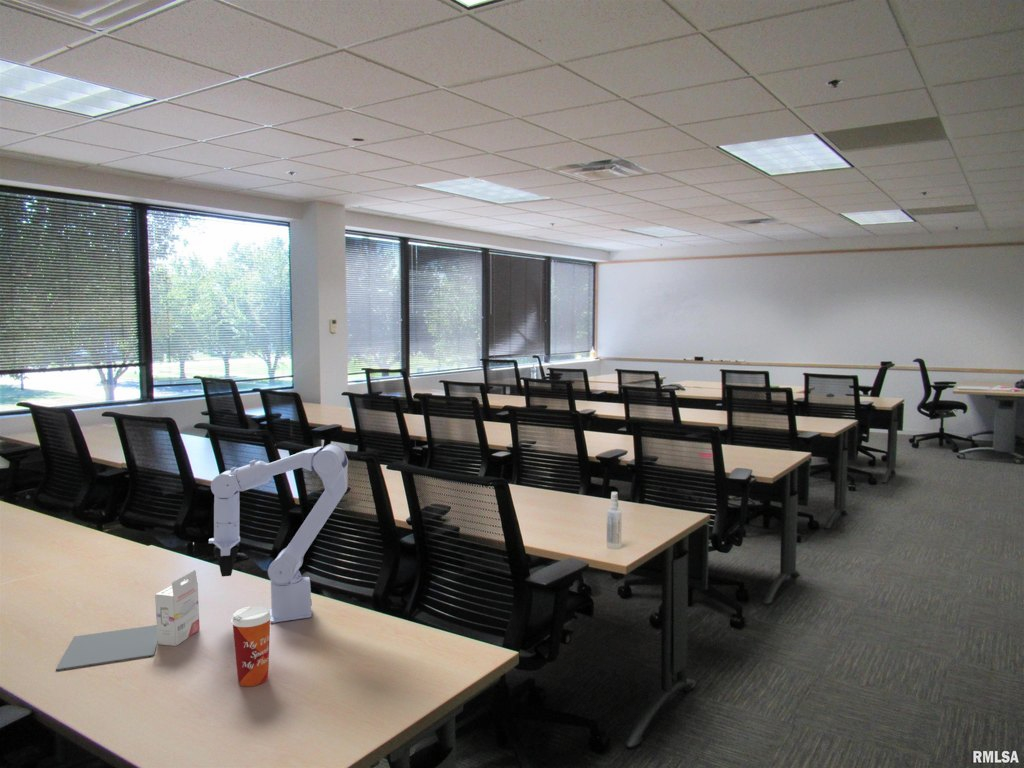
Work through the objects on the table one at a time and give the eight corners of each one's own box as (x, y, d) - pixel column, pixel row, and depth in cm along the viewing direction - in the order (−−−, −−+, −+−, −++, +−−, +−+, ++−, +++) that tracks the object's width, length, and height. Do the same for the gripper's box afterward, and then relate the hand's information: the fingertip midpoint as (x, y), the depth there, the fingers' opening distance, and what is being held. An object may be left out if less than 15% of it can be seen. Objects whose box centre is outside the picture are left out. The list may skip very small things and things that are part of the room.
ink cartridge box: (181, 628, 160) (179, 567, 159) (200, 630, 159) (198, 569, 158) (156, 644, 152) (153, 580, 150) (175, 646, 151) (173, 582, 150)
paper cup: (249, 693, 132) (247, 623, 130) (224, 682, 136) (222, 614, 135) (282, 676, 138) (280, 609, 137) (257, 666, 142) (255, 601, 141)
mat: (162, 625, 161) (162, 624, 161) (153, 656, 146) (153, 654, 146) (74, 638, 155) (74, 636, 155) (55, 671, 140) (55, 669, 140)
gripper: (210, 513, 170) (210, 566, 171) (206, 530, 157) (206, 587, 158) (241, 512, 173) (240, 564, 174) (239, 528, 159) (239, 584, 160)
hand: (226, 575), depth 166 cm, fingers closed
